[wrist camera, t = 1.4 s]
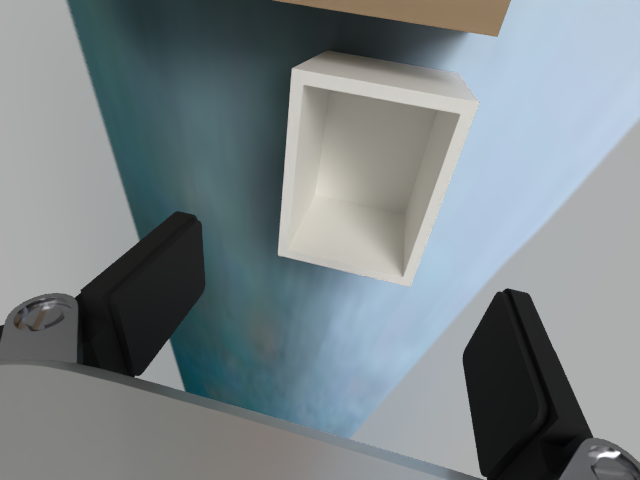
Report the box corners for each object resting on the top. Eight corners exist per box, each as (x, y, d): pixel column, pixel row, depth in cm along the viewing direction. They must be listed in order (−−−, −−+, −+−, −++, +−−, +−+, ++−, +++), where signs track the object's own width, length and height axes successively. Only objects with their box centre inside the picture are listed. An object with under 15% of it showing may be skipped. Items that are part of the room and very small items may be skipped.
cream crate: (327, 50, 19) (291, 68, 13) (458, 72, 18) (479, 102, 13) (309, 196, 24) (277, 255, 18) (410, 218, 23) (410, 286, 18)
